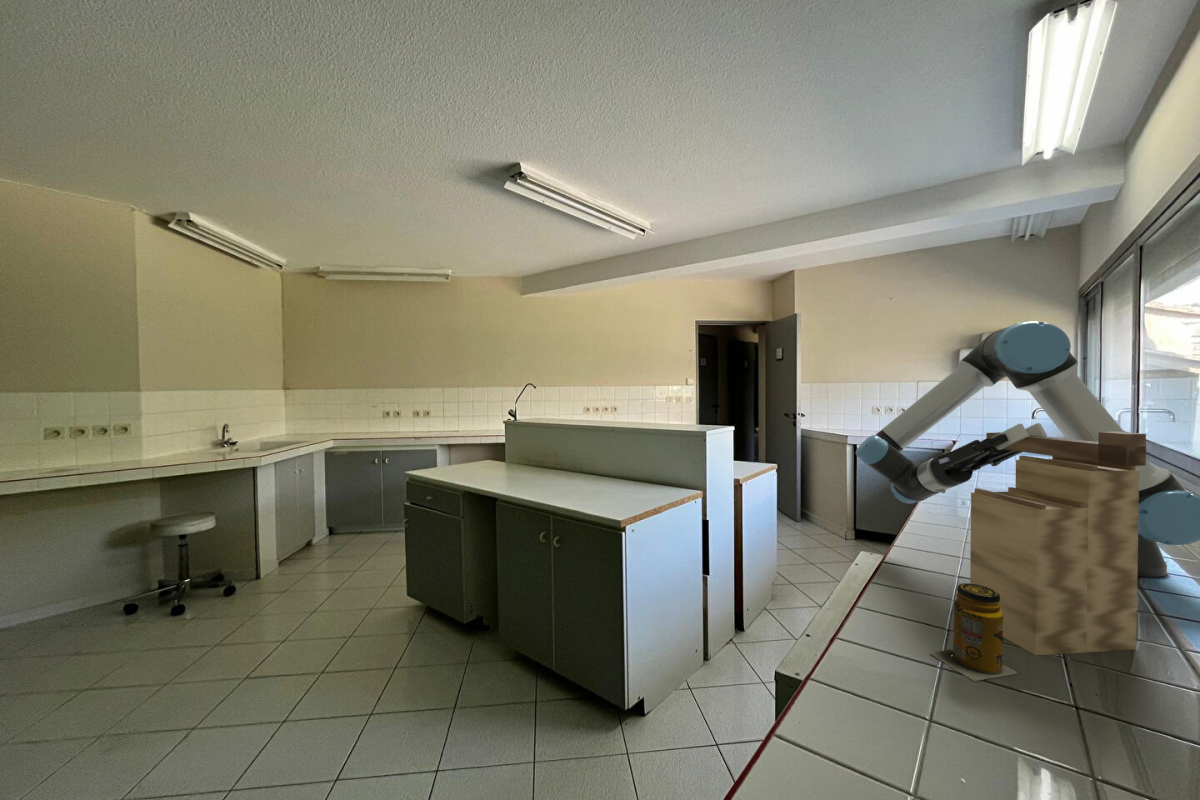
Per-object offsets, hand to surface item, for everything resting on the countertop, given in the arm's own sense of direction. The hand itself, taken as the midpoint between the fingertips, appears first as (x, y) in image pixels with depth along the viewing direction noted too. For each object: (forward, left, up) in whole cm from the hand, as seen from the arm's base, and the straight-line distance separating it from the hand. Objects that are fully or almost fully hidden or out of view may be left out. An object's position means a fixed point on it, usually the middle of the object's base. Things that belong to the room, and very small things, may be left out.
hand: (1032, 430), depth 86 cm
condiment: (+25, +14, -36) cm, 46 cm away
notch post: (+4, +7, -36) cm, 36 cm away
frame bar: (0, +4, -4) cm, 6 cm away
